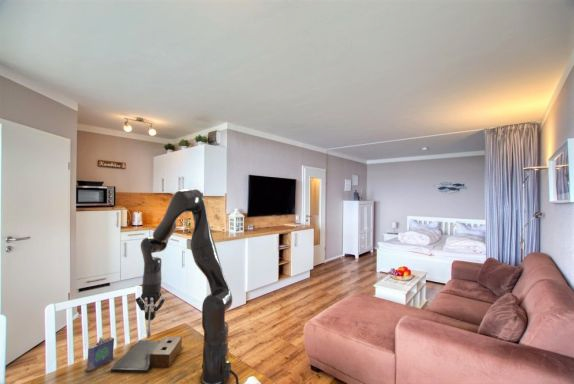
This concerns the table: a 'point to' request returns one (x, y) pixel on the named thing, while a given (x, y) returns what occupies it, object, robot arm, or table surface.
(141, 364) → the tablet
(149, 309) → the stylus
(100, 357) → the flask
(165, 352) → the pen stand
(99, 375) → the table surface
